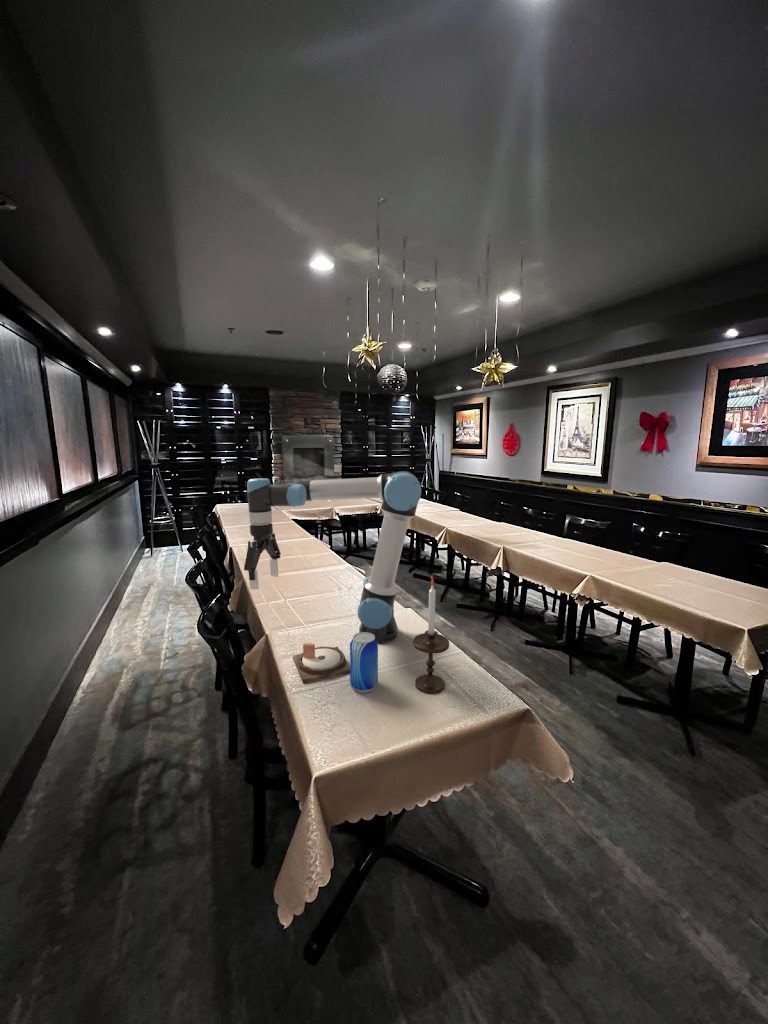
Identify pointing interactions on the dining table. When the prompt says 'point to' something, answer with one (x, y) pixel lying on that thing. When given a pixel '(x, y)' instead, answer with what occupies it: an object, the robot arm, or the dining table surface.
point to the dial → (319, 657)
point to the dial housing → (319, 674)
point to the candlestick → (430, 650)
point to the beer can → (364, 662)
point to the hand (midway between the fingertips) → (264, 582)
